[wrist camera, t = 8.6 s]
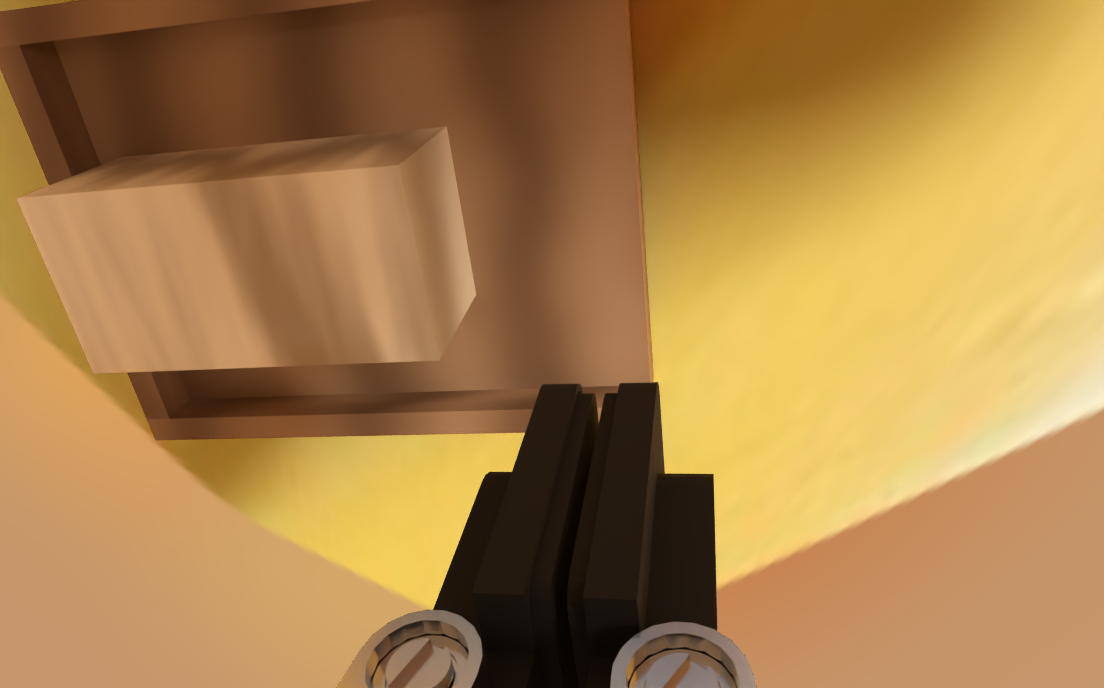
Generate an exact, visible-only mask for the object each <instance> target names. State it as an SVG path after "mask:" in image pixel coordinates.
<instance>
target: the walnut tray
mask: <svg viewBox="0 0 1104 688" xmlns="http://www.w3.org/2000/svg"><path fill="white" fill-rule="evenodd" d="M0 69H1V71H2V73H3V76H4V78H5V81H6V83H7V85H8V88H9V90H10V93H11V95H12V97H13V100H14V102H15V105H16V107H17V109H18V112H19V114H20V117H21V119H22V121H23V124H24V126H25V129H26V131H27V133H28V136H29V138H30V140H31V143H32V145H33V148H34V150H35V152H36V155H37V157H38V160H39V162H40V164H41V167H42V169H43V172H44V174H45V176H46V179H47V181H48V184H49V185H51V184H54V183H56V182H59V181H62V180H64V179H67V178H69V177H72V176H75V175H77V174H80V173H82V172H85V171H88V170H90V169H93V168H95V167H98V166H101V165H103V164H106V163H108V162H111V161H114V160H116V159H119V158H121V157H129V156H140V155H150V154H161V153H172V152H182V151H193V150H203V149H214V148H225V147H235V146H246V145H256V144H267V143H277V142H288V141H299V140H309V139H320V138H330V137H341V136H352V135H362V134H373V133H383V132H394V131H405V130H415V129H426V128H436V127H447V131H448V136H449V142H450V148H451V153H452V159H453V165H454V171H455V176H456V182H457V188H458V194H459V199H460V205H461V211H462V216H463V222H464V228H465V234H466V239H467V245H468V251H469V256H470V262H471V268H472V274H473V279H474V285H475V291H476V296H475V298H474V299H473V301H472V303H471V305H470V307H469V308H468V310H467V312H466V314H465V315H464V317H463V319H462V321H461V323H460V324H459V326H458V328H457V330H456V332H455V333H454V335H453V337H452V339H451V340H450V342H449V344H448V346H447V348H446V349H445V351H444V353H443V355H442V357H441V358H440V360H439V361H413V362H387V363H361V364H335V365H309V366H283V367H258V368H232V369H206V370H180V371H154V372H128V375H129V378H130V380H131V382H132V385H133V387H134V389H135V392H136V394H137V397H138V399H139V401H140V404H141V406H142V409H143V411H144V413H145V416H146V418H147V421H148V423H149V425H150V428H151V430H152V433H153V435H154V437H155V440H186V439H234V438H282V437H330V436H378V435H426V434H474V433H523V432H526V429H527V426H528V423H529V420H530V417H531V414H532V411H533V408H534V405H535V402H536V399H537V396H538V393H539V390H540V388H541V386H542V385H543V384H580V385H581V387H582V390H583V393H594V394H595V396H596V402H597V410H598V419H599V420H600V415H601V410H602V405H603V400H604V396H605V393H618V388H619V384H620V383H651V382H653V376H654V375H653V359H652V344H651V329H650V313H649V298H648V283H647V267H646V252H645V237H644V221H643V206H642V191H641V176H640V160H639V145H638V130H637V114H636V99H635V84H634V68H633V53H632V38H631V22H630V7H629V0H82V1H75V2H67V3H60V4H53V5H45V6H38V7H31V8H24V9H16V10H9V11H2V12H0Z"/></svg>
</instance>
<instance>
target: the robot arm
mask: <svg viewBox="0 0 1104 688" xmlns="http://www.w3.org/2000/svg"><path fill="white" fill-rule="evenodd" d="M716 600H717V599H716V556H715V516H714V479H713V474H665V471H664V456H663V440H662V425H661V409H660V394H659V385H658V382H651V383H620V384H619V388H618V393H605V396H604V400H603V405H602V410H601V415H600V420H599V419H598V410H597V402H596V396H595V394H594V393H583V390H582V387H581V385H580V384H543V385H542V386H541V388H540V390H539V393H538V396H537V399H536V402H535V405H534V408H533V411H532V414H531V417H530V420H529V423H528V426H527V429H526V432H525V435H524V438H523V441H522V444H521V447H520V450H519V453H518V456H517V459H516V462H515V465H514V468H513V471H512V472H489V473H488V474H486V475H485V477H484V479H483V481H482V483H481V486H480V489H479V491H478V494H477V496H476V499H475V502H474V504H473V507H472V510H471V512H470V515H469V517H468V520H467V523H466V525H465V528H464V531H463V533H462V536H461V538H460V541H459V544H458V546H457V549H456V551H455V554H454V557H453V559H452V562H451V565H450V567H449V570H448V572H447V575H446V578H445V580H444V583H443V586H442V588H441V591H440V593H439V596H438V599H437V601H436V604H435V606H434V609H433V610H423V611H419V612H414V613H409V614H406V615H404V616H402V617H399V618H397V619H395V620H393V621H391V622H389V623H387V624H386V625H385V626H384V627H382V628H381V629H380V630H378V631H377V632H375V633H374V634H373V635H372V636H371V637H370V639H369V640H368V641H367V642H366V643H365V645H364V646H363V647H362V648H361V649H360V651H359V652H358V654H357V656H356V657H355V659H354V660H353V662H352V664H351V665H350V667H349V668H348V670H347V671H346V673H345V675H344V676H343V678H342V679H341V681H340V682H339V684H338V686H337V687H336V688H757V686H756V683H755V678H754V674H753V672H752V670H751V667H750V665H749V663H748V660H747V658H746V656H745V655H744V654H743V652H742V651H741V650H740V649H739V648H738V647H737V646H736V645H735V643H733V641H732V640H730V639H729V638H727V637H726V636H724V635H722V634H721V633H719V632H718V631H717V601H716Z"/></svg>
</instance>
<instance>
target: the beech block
mask: <svg viewBox="0 0 1104 688" xmlns="http://www.w3.org/2000/svg"><path fill="white" fill-rule="evenodd" d="M16 199H17V202H18V204H19V206H20V209H21V211H22V213H23V215H24V218H25V220H26V222H27V224H28V227H29V229H30V231H31V233H32V236H33V238H34V240H35V243H36V245H37V247H38V249H39V252H40V254H41V256H42V258H43V261H44V263H45V265H46V268H47V270H48V272H49V274H50V277H51V279H52V281H53V283H54V286H55V288H56V290H57V292H58V295H59V297H60V299H61V302H62V304H63V306H64V308H65V311H66V313H67V315H68V317H69V320H70V322H71V324H72V326H73V329H74V331H75V333H76V336H77V338H78V340H79V342H80V345H81V347H82V349H83V351H84V354H85V356H86V358H87V361H88V363H89V365H90V367H91V370H92V372H93V374H102V373H128V372H154V371H180V370H206V369H232V368H258V367H283V366H309V365H335V364H361V363H387V362H413V361H439V360H440V358H441V357H442V355H443V353H444V351H445V349H446V348H447V346H448V344H449V342H450V340H451V339H452V337H453V335H454V333H455V332H456V330H457V328H458V326H459V324H460V323H461V321H462V319H463V317H464V315H465V314H466V312H467V310H468V308H469V307H470V305H471V303H472V301H473V299H474V298H475V296H476V291H475V285H474V279H473V274H472V268H471V262H470V256H469V251H468V245H467V239H466V234H465V228H464V222H463V216H462V211H461V205H460V199H459V194H458V188H457V182H456V176H455V171H454V165H453V159H452V153H451V148H450V142H449V136H448V131H447V127H436V128H426V129H415V130H405V131H394V132H383V133H373V134H362V135H352V136H341V137H330V138H320V139H309V140H299V141H288V142H277V143H267V144H256V145H246V146H235V147H225V148H214V149H203V150H193V151H182V152H172V153H161V154H150V155H140V156H129V157H121V158H119V159H116V160H114V161H111V162H108V163H106V164H103V165H101V166H98V167H95V168H93V169H90V170H88V171H85V172H82V173H80V174H77V175H75V176H72V177H69V178H67V179H64V180H62V181H59V182H56V183H54V184H51V185H49V186H46V187H43V188H41V189H38V190H36V191H33V192H30V193H28V194H25V195H23V196H20V197H17V198H16Z"/></svg>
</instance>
